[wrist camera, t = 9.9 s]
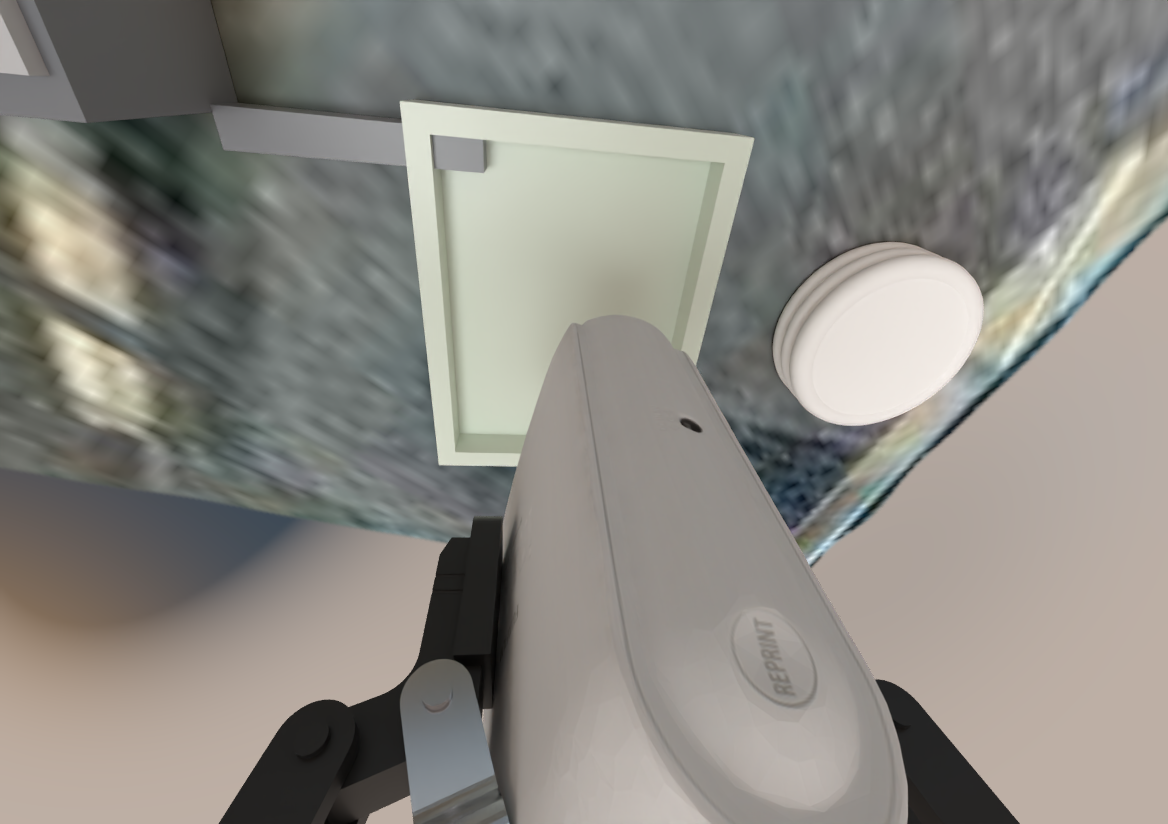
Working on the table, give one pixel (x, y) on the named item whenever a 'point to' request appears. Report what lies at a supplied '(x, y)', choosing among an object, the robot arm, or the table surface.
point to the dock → (175, 82)
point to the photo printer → (668, 618)
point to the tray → (555, 251)
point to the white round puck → (877, 332)
